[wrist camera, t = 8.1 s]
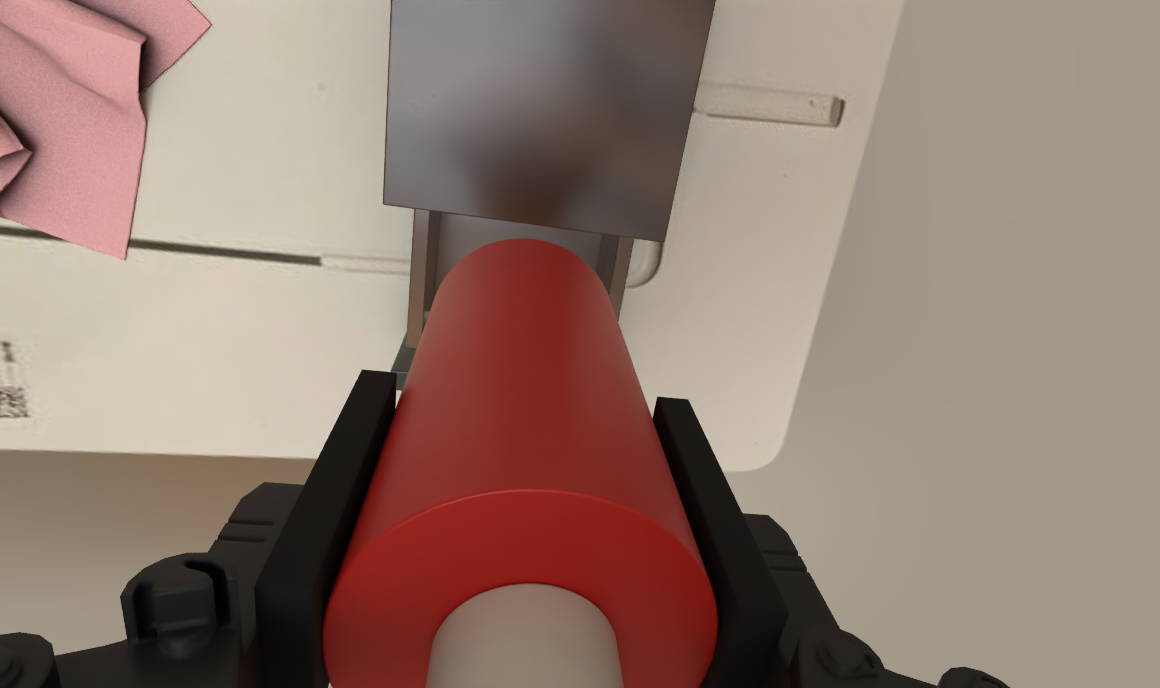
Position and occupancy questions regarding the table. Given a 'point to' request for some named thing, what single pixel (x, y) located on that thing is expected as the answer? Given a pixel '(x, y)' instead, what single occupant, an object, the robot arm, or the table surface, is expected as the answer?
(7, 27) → the cloth
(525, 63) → the cabinet
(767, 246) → the table surface
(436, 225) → the drawer
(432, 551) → the red cylinder white end
